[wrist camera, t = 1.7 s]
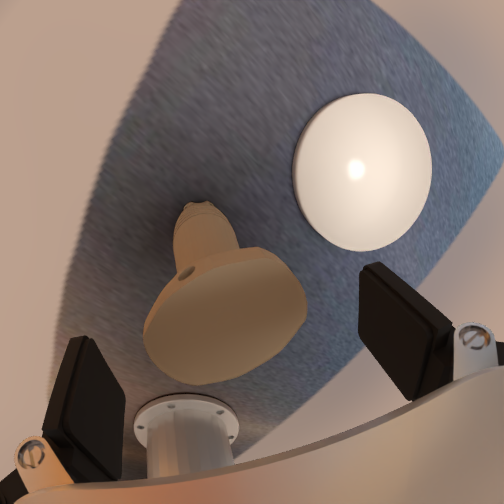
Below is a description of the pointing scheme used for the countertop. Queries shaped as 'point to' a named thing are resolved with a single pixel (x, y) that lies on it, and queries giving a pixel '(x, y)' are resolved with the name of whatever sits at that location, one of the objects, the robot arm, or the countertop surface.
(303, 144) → the plate
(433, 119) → the countertop surface
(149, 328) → the handle
